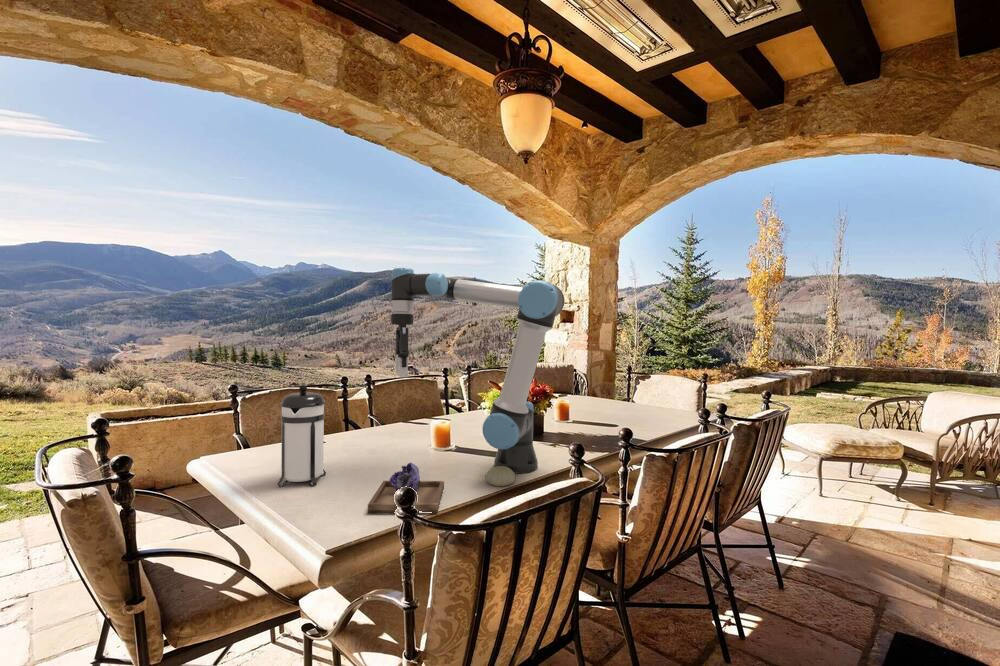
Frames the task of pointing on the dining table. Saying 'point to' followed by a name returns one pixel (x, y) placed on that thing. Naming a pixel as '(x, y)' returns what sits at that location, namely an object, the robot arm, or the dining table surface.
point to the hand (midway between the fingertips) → (401, 374)
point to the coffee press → (302, 437)
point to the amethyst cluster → (406, 477)
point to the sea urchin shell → (500, 476)
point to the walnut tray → (427, 502)
